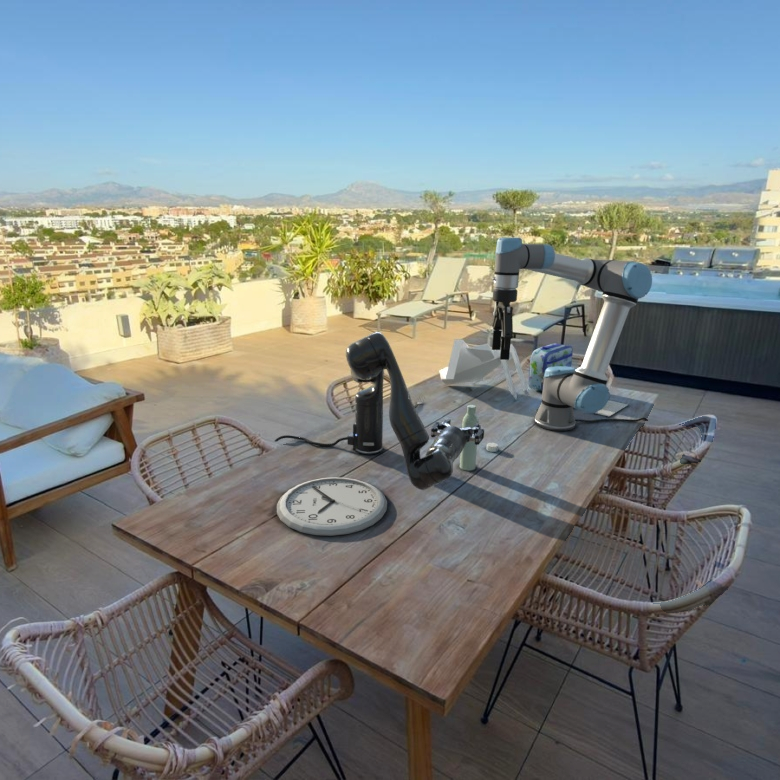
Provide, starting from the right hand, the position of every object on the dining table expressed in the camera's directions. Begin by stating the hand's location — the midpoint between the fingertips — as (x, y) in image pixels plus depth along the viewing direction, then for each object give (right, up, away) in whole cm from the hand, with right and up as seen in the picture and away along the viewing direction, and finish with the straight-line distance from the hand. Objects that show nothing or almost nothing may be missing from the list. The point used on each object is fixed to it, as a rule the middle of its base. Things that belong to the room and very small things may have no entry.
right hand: (500, 354), depth 170 cm
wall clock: (-52, -43, -28) cm, 73 cm away
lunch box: (+41, -11, +82) cm, 92 cm away
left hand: (-14, -22, -18) cm, 31 cm away
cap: (-1, -31, +10) cm, 32 cm away
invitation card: (+56, -19, +56) cm, 81 cm away
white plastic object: (+6, -13, +73) cm, 74 cm away
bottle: (-11, -36, -3) cm, 38 cm away
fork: (-24, -19, +52) cm, 61 cm away
